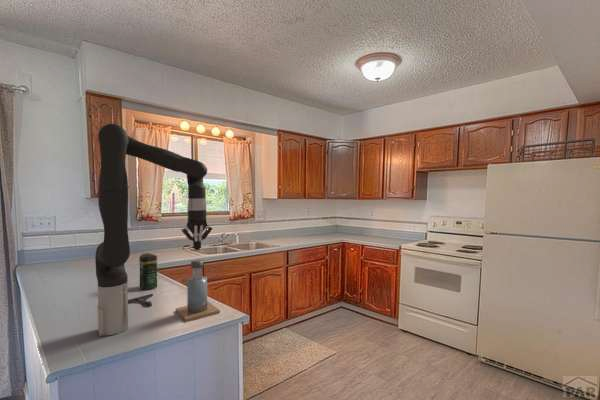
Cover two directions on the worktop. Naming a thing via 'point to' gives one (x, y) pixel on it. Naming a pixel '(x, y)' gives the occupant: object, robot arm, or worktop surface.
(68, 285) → the worktop surface
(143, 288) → the coffee jar
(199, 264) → the grey dome cap
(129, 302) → the bracket
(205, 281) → the soap dispenser
